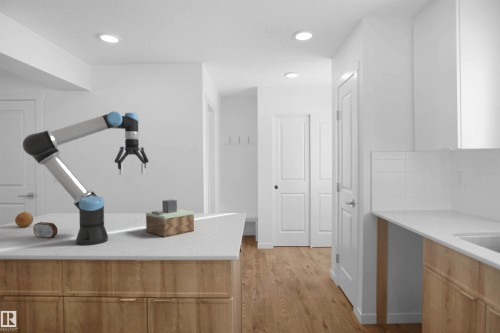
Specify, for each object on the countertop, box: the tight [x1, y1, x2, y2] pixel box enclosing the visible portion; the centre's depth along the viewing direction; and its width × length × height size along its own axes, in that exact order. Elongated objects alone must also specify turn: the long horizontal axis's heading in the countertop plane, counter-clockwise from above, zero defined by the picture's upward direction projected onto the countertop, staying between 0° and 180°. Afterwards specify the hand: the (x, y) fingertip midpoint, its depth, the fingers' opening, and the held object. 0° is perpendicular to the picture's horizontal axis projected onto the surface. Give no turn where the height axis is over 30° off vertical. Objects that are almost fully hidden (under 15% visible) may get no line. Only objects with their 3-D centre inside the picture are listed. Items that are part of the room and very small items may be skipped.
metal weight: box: [162, 199, 178, 213], centre depth 186 cm, size 6×6×7 cm
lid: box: [145, 208, 195, 219], centre depth 186 cm, size 20×20×3 cm
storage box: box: [145, 214, 195, 238], centre depth 186 cm, size 20×20×10 cm
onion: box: [14, 211, 34, 228], centre depth 205 cm, size 10×10×10 cm
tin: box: [32, 221, 58, 239], centre depth 176 cm, size 15×3×8 cm, turn 74°
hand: (132, 174), depth 186 cm, fingers open, 13 cm apart
